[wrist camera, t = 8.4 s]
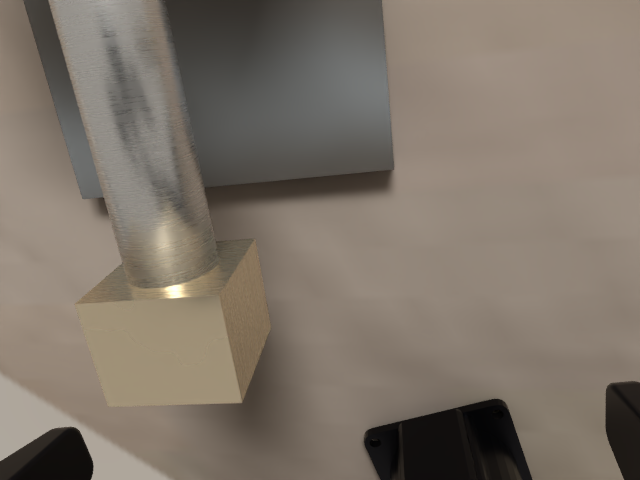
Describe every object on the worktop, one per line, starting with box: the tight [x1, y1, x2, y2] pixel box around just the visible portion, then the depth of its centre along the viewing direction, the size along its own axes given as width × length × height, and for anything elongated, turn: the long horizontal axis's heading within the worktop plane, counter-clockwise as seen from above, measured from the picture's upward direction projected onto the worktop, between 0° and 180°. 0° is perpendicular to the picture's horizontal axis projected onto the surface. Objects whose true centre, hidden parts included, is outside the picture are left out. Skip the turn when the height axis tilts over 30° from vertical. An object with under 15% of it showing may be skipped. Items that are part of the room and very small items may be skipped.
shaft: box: [48, 0, 271, 407], centre depth 11 cm, size 18×4×4 cm, turn 7°
